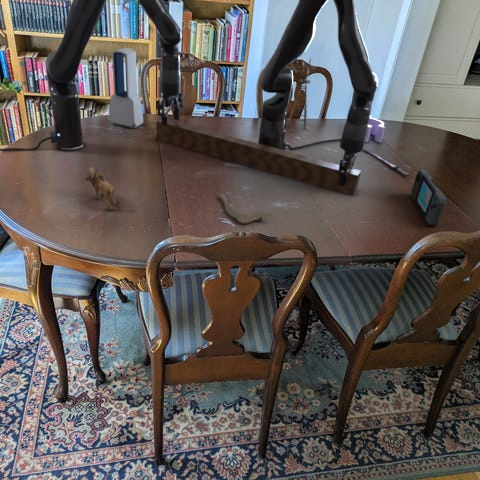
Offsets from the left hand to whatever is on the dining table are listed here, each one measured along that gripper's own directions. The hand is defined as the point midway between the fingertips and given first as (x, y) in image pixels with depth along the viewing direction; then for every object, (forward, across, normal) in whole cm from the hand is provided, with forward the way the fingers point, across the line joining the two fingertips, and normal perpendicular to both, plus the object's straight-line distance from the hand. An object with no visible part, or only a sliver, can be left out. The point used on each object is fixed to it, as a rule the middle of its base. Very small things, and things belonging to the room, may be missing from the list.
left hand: (170, 122), depth 184 cm
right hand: (+5, 0, +72) cm, 72 cm away
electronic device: (+7, -3, -24) cm, 26 cm away
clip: (+9, -63, +65) cm, 91 cm away
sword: (+8, -35, +78) cm, 86 cm away
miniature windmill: (+8, -53, +35) cm, 64 cm away
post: (+8, 0, +36) cm, 36 cm away
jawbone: (+8, +34, +49) cm, 60 cm away
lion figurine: (+7, +55, +12) cm, 56 cm away
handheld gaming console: (+8, -1, +99) cm, 100 cm away
